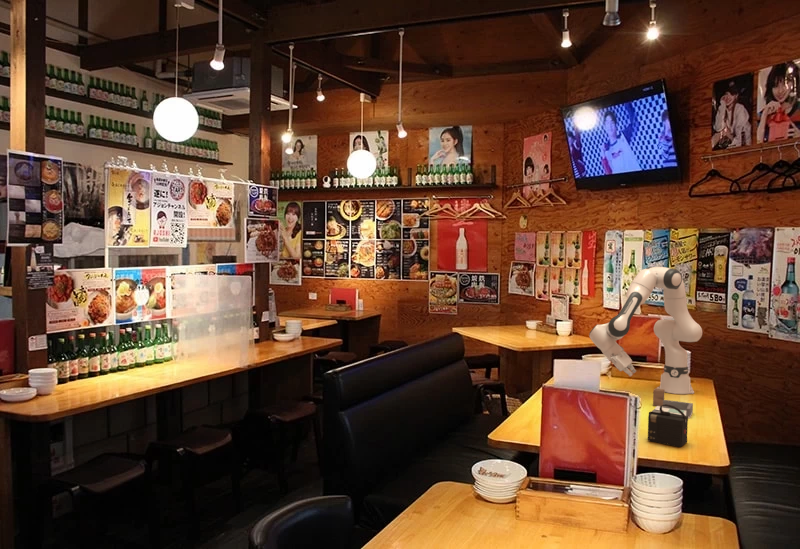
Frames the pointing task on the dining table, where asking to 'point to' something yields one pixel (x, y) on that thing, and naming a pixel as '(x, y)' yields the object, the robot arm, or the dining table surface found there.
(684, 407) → the corner arena
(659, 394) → the walnut block
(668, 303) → the robot arm
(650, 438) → the black portable radio
